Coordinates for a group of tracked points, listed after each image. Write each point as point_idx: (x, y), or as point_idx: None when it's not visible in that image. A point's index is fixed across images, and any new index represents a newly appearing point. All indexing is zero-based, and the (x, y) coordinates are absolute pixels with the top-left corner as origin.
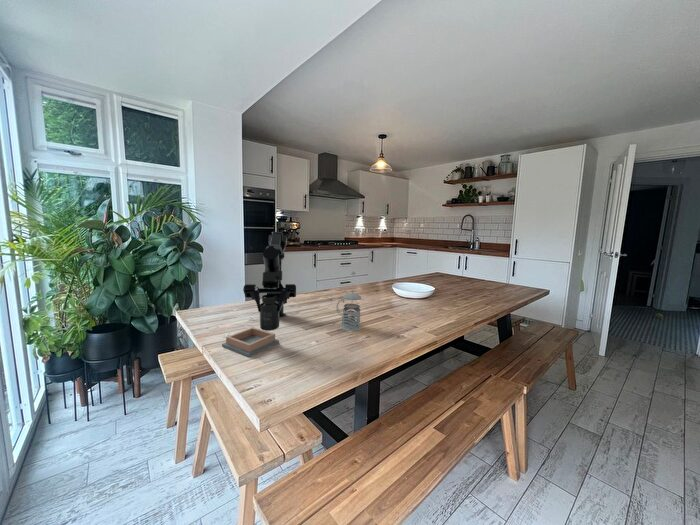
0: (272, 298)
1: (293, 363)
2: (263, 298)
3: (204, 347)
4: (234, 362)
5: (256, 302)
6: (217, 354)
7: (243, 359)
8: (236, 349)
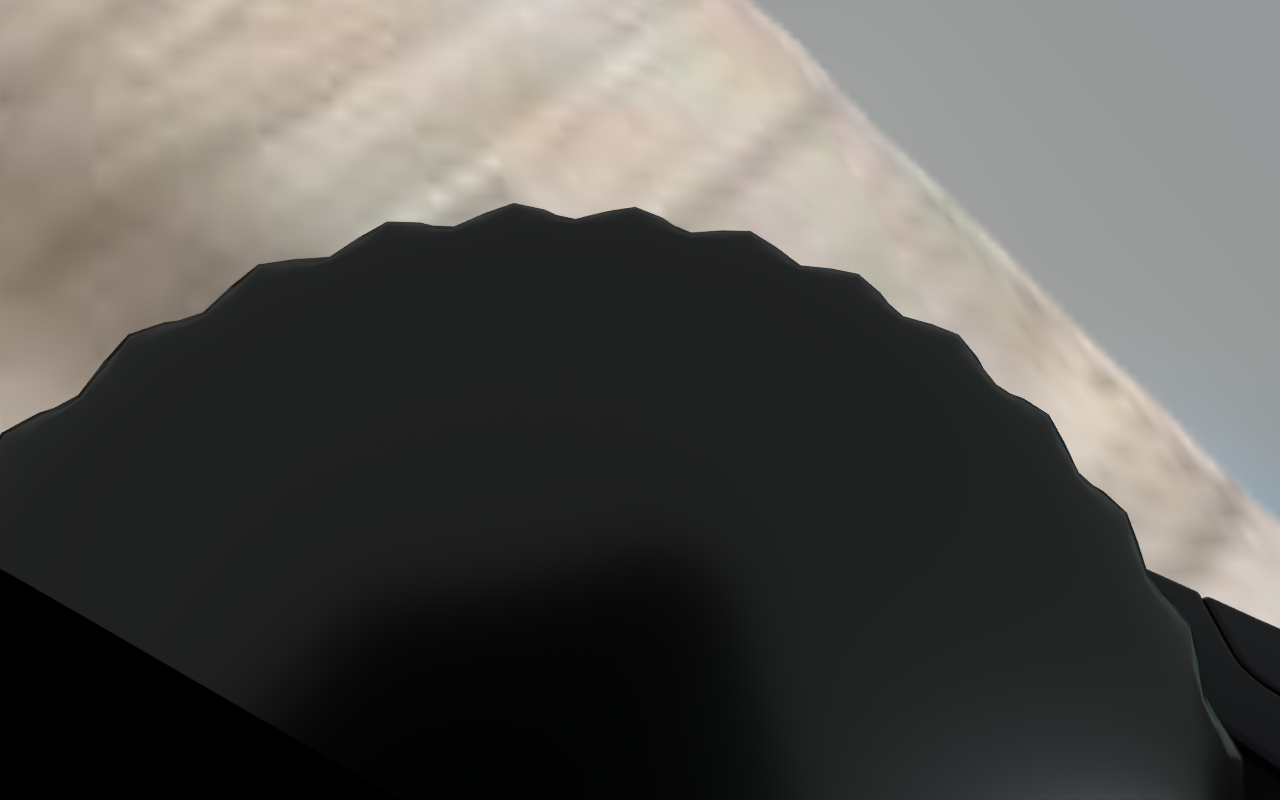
0: (161, 408)
1: (208, 180)
2: (902, 355)
3: (1202, 461)
4: (774, 186)
5: (1161, 576)
6: (997, 324)
7: None
8: None
